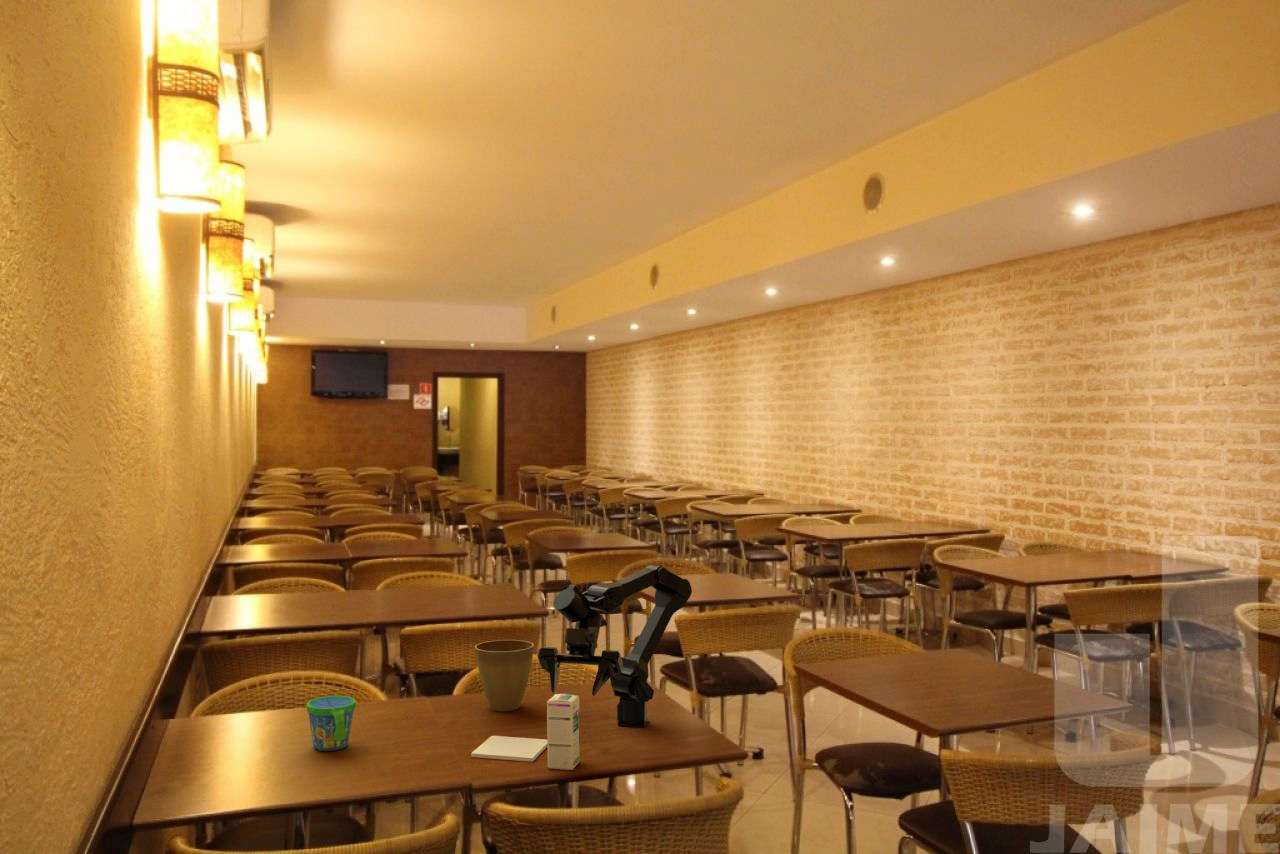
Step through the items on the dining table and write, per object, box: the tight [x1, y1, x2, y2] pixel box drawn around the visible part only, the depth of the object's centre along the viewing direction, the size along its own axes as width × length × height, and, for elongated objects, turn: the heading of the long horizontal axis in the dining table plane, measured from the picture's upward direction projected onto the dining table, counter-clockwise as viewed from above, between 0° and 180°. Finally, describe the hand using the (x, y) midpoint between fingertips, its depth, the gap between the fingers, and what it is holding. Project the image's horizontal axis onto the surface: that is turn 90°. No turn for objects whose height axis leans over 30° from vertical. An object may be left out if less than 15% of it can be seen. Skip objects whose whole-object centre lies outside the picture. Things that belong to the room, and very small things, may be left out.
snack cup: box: [305, 695, 357, 752], centre depth 231 cm, size 16×10×10 cm
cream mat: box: [470, 735, 547, 763], centre depth 229 cm, size 14×13×1 cm
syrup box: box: [546, 693, 581, 771], centre depth 220 cm, size 6×6×14 cm
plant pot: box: [474, 639, 535, 712], centre depth 263 cm, size 15×15×16 cm
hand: (572, 693), depth 227 cm, fingers open, 9 cm apart
